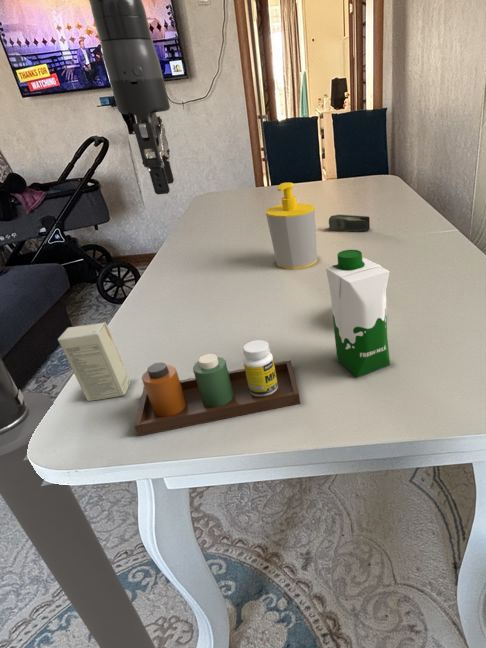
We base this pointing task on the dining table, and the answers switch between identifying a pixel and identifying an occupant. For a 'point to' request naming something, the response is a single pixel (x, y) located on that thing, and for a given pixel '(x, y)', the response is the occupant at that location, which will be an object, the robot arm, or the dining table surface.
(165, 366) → the amber bottle
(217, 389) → the green bottle
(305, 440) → the dining table surface
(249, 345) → the supplement bottle
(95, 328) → the cosmetic box
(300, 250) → the soap bottle
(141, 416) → the tray
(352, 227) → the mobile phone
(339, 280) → the milk carton
